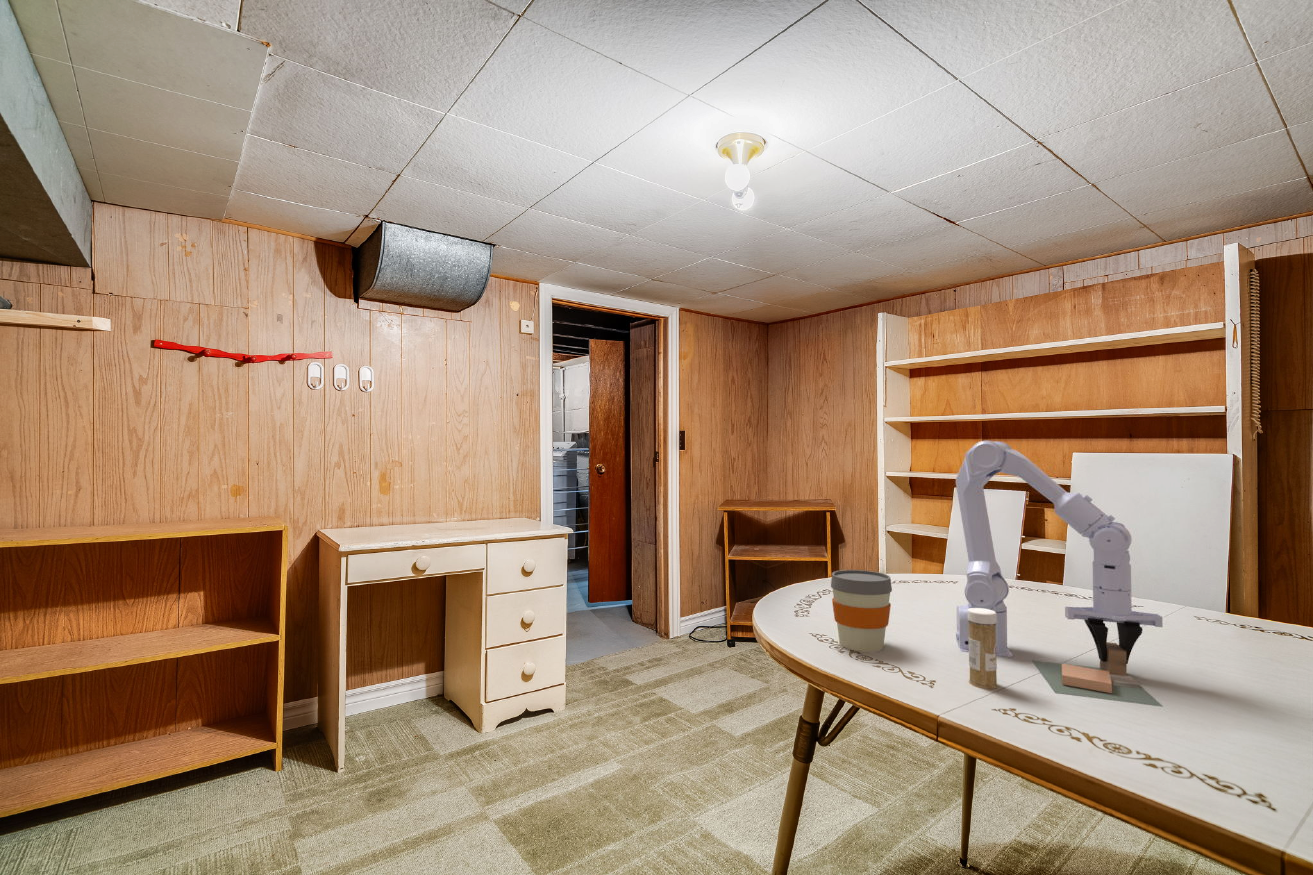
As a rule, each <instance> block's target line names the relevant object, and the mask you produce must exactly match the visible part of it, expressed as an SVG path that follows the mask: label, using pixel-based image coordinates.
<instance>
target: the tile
mask: <svg viewBox="0 0 1313 875" xmlns="http://www.w3.org/2000/svg"><path fill="white" fill-rule="evenodd" d="M1061 664H1062V684H1064V685H1069V686H1075V687H1080V688H1086V689H1091V690H1096V691H1102V692H1107V693H1112V683H1111V678H1110V674H1109V671H1104V670H1098V669H1092V668H1086V667H1080V666H1081V665H1078V666H1074V665H1075V664H1069V665H1068V664H1067V663H1061Z"/></svg>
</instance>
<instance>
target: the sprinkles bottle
mask: <svg viewBox="0 0 1313 875" xmlns="http://www.w3.org/2000/svg"><path fill="white" fill-rule="evenodd" d="M968 620H969V621H968V622H969V652H968V666H969V679H968V683H969V684H970V685H971V686H973V687H976V688H979V689H985V690H994V689H997V688H998V682H997V676H998V675H997V669H998V667H997V663H998V662H997V659H998V658H997V655H996V627H995V626H996V623H997V614H996V612H995V611H993V610H989V609H984V608H970V609H968Z"/></svg>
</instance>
